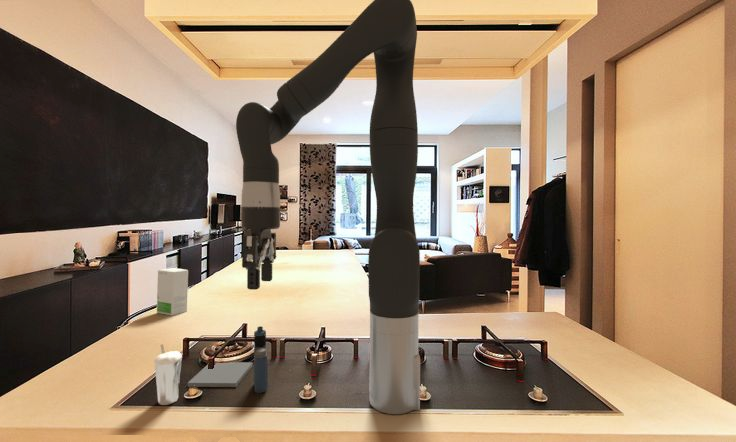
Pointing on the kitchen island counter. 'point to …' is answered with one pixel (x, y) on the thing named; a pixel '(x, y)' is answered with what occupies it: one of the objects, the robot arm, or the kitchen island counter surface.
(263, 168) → the robot arm
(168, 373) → the milkshake
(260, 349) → the vaping device
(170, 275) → the skincare box
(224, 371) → the charcoal mat
